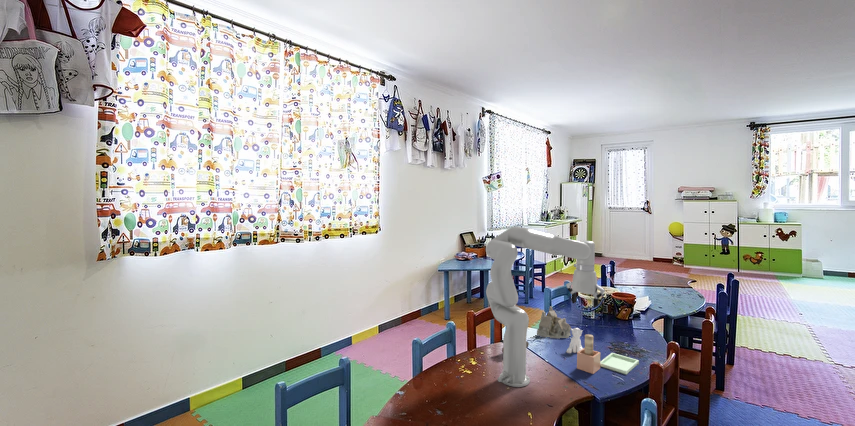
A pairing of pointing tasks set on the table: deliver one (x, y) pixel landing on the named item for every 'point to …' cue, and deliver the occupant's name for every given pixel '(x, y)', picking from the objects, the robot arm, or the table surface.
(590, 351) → the dowel
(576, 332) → the sitting furry creature
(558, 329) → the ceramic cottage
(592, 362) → the pink open box
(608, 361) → the tray
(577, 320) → the table surface
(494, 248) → the robot arm
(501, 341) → the figurine character
